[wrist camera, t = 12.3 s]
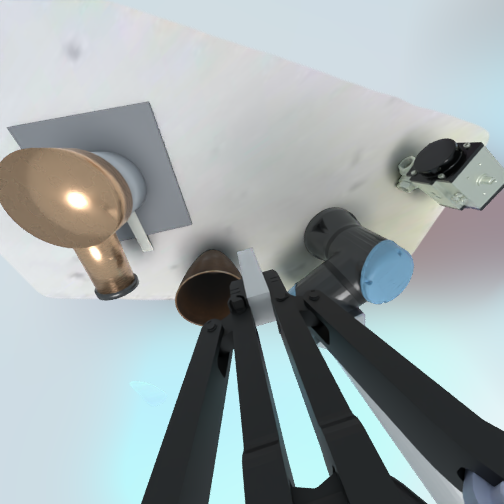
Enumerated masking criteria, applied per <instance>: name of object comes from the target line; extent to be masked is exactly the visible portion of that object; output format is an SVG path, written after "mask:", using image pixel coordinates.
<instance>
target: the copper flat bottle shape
mask: <svg viewBox="0 0 504 504" xmlns="http://www.w3.org/2000/svg"><path fill="white" fill-rule="evenodd" d="M0 203H1V205H2V206H3V208H4V210H5V211H6V212H7V214H8V215H9V216H10V217H11V218H12V219H13V220H14V221H15V222H16V223H17V224H18V225H19V226H20V227H21V228H23V229H24V230H25V231H27V232H28V233H30V234H31V235H33V236H35V237H37V238H39V239H41V240H43V241H45V242H48V243H50V244H53V245H57V246H61V247H66V248H73V249H74V251H75V253H76V254H77V256H78V258H79V260H80V261H81V263H82V265H83V267H84V268H85V270H86V272H87V274H88V275H89V277H90V279H91V281H92V283H93V284H94V286H95V294H96V295H97V297H98V298H99V299H100V300H113V299H117V298H120V297H122V296H125V295H127V294H128V293H130V292H132V291H133V290H134V289H135V288H136V287H137V286H138V284H139V280H138V277H137V275H136V274H134V273H133V272H132V269H131V267H130V265H129V262H128V260H127V258H126V255H125V253H124V251H123V248H122V246H121V244H120V241H119V239H118V237H117V234H116V231H117V230H118V229H119V228H120V227H122V226H123V225H124V224H125V223H126V222H127V220H128V219H129V217H130V215H131V212H132V208H133V199H132V194H131V191H130V188H129V186H128V184H127V182H126V180H125V179H124V177H123V176H122V175H121V174H120V172H119V171H118V170H117V169H116V168H115V167H114V166H113V165H111V164H110V163H109V162H108V161H106V160H105V159H103V158H101V157H100V156H98V155H96V154H94V153H91V152H88V151H85V150H81V149H76V148H26V149H21V150H17V151H15V152H13V153H11V154H9V155H8V156H6V157H5V158H4V159H3V160H2V161H1V162H0Z"/></svg>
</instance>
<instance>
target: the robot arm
mask: <svg viewBox="0 0 504 504" xmlns="http://www.w3.org/2000/svg"><path fill="white" fill-rule="evenodd" d="M304 241H305V246H306V248H307V249H308V251H309V252H310V253H311V254H312V255H313V256H315V257H316V258H318V259H321V260H324V261H325V262H324V263H322V264H321V265H320V266H318V267H317V268H316V269H315V270H313V271H312V272H311V273H310V274H308V275H307V276H306V277H305V278H303V279H302V280H301V281H299V282H297V283H296V284H295V285H294V286H293V287H292V288H291V289H290V290H289V291H288V292H287V291H286V289H285V287H284V285H283V283H282V281H281V279H280V277H279V275H278V273H277V272H276V271H274V270H273V269H272V270H269V271H265V272H262V271H261V269H260V266H259V263H258V261H257V258H256V256H255V253H254V250H253V248H249V249H246V250H242V251H238V252H237V254H238V259H239V263H240V268H241V273H242V277H243V279H239V280H236V281H232V282H231V284H230V294H231V297H230V298H229V300H228V302H227V304H228V307H229V310H230V314H229V315H228V316H227V317H226V318H224V319H222V320H221V321H220V320H219V319H211V320H209V321H207V322H206V323H205V324H204V325H203V327H202V329H201V332H200V335H199V337H198V340H197V343H196V346H195V349H194V352H193V355H192V358H191V361H190V364H189V366H188V369H187V372H186V375H185V378H184V381H183V384H182V387H181V390H180V393H179V396H178V399H177V401H176V404H175V407H174V410H173V413H172V416H171V419H170V422H169V424H168V427H167V430H166V433H165V436H164V439H163V442H162V445H161V448H160V451H159V454H158V456H157V459H156V462H155V465H154V468H153V471H152V474H151V477H150V480H149V482H148V485H147V488H146V491H145V494H144V497H143V500H142V503H141V504H208V502H209V495H210V489H211V483H212V477H213V471H214V465H215V459H216V452H217V446H218V440H219V434H220V427H221V421H222V415H223V409H224V403H225V396H226V390H227V384H228V377H229V371H230V365H231V359H232V352H233V349H234V351H235V361H236V372H237V381H238V392H239V402H240V412H241V422H242V433H243V443H244V451H243V455H242V466H243V467H242V468H243V480H244V492H245V504H427V503H426V502H425V501H423V500H422V499H421V498H420V497H418V496H417V495H416V494H415V493H414V492H412V491H411V490H410V489H409V488H408V487H406V486H405V485H404V484H403V483H401V482H400V481H398V480H397V479H395V478H394V477H392V476H390V475H389V473H388V471H387V469H386V467H385V466H384V464H383V462H382V460H381V458H380V456H379V454H378V453H377V451H376V449H375V447H374V445H373V443H372V441H371V439H370V438H369V436H368V434H367V432H366V430H365V429H364V427H363V425H362V423H361V422H360V421H359V419H358V418H357V417H356V416H355V415H354V414H353V413H352V412H351V410H350V408H349V406H348V404H347V402H346V400H345V398H344V397H343V395H342V393H341V391H340V389H339V387H338V385H337V383H336V381H335V379H334V377H333V375H332V374H331V372H330V370H329V368H328V366H327V364H326V362H325V360H324V358H323V356H322V355H321V352H320V351H319V349H318V347H321V348H324V349H327V350H328V351H329V352H330V353H331V354H332V355H333V356H334V357H335V359H336V360H337V361H338V363H339V364H340V366H341V367H342V369H343V370H344V372H345V373H346V374H347V376H348V377H349V379H350V380H351V382H352V383H353V384H354V386H355V387H356V389H357V390H358V392H359V393H360V394H361V396H362V397H363V398H364V400H365V402H366V403H367V404H368V406H369V407H370V408H371V410H372V411H373V413H374V414H375V416H376V417H377V418H378V420H379V421H380V423H381V424H382V426H383V427H384V429H385V430H386V431H387V433H388V434H389V436H390V437H391V438H392V440H393V441H394V443H395V444H396V446H397V447H398V449H399V450H400V451H401V453H402V454H403V455H404V457H405V458H406V460H407V461H408V463H409V464H410V466H411V467H412V469H413V470H414V471H415V473H416V474H417V476H418V477H419V479H420V480H421V481H422V483H423V484H424V486H425V487H426V489H427V490H428V491H429V493H430V494H431V496H432V497H433V498H434V500H435V501H436V503H437V504H504V431H502V430H501V429H499V428H497V427H495V426H493V425H491V424H490V423H488V422H486V421H484V420H483V419H481V418H480V417H479V416H478V415H476V414H475V413H474V412H472V411H471V410H470V409H469V408H467V407H466V406H465V405H464V404H463V403H461V402H460V401H458V400H457V399H456V398H455V397H454V396H452V395H451V394H450V393H449V392H447V391H446V390H445V389H443V388H442V387H441V386H440V385H439V384H437V383H436V382H435V381H434V380H432V379H431V378H430V377H428V376H427V375H426V374H425V373H423V372H422V371H421V370H420V369H418V368H417V367H416V366H415V365H413V364H412V363H411V362H410V361H408V360H407V359H406V358H404V357H403V356H402V355H401V354H400V353H398V352H397V351H396V350H394V349H393V348H392V347H391V346H389V345H388V344H387V343H385V342H384V341H383V340H382V339H381V338H379V337H378V336H377V335H376V334H374V333H373V332H372V331H371V330H369V329H368V328H367V327H366V326H365V314H364V313H363V312H362V311H361V310H360V309H359V306H360V305H362V304H363V303H365V302H366V301H368V302H371V303H374V304H382V303H383V302H384V303H387V302H389V301H391V300H393V299H394V298H396V297H397V296H398V295H399V294H400V293H401V292H402V291H403V290H404V289H405V287H406V286H407V285H408V283H409V281H410V279H411V276H412V274H413V268H414V264H413V259H412V257H411V255H410V254H409V252H407V251H406V250H405V249H403V248H402V247H400V246H398V245H397V244H396V243H395V242H393V241H391V240H388V239H386V238H384V237H382V236H380V235H378V234H376V233H374V232H372V231H370V230H368V229H366V228H364V227H362V226H361V225H360V223H359V222H358V221H357V219H356V218H355V216H354V215H353V214H352V213H350V212H349V211H346V210H344V209H342V208H329V209H326V210H324V211H322V212H320V213H319V214H317V215H316V216H315V217H314V218H313V219H312V220H311V221H310V223H309V225H308V226H307V228H306V231H305V236H304ZM273 321H277V325H278V329H279V333H280V334H281V337H282V340H283V342H284V345H285V348H286V351H287V354H288V356H289V359H290V362H291V365H292V368H293V371H294V374H295V376H296V379H297V382H298V385H299V388H300V390H301V393H302V396H303V399H304V402H305V405H306V407H307V410H308V413H309V416H310V418H311V422H312V424H313V427H314V430H315V433H316V436H317V439H318V441H319V444H320V447H321V450H322V453H323V457H324V460H325V463H326V466H327V470H328V472H329V475H330V477H329V478H328V479H327V480H325V481H324V482H323V483H322V484H321V485H320V486H319V487H317V488H315V489H314V488H313V489H312V488H300V487H295V484H294V480H293V476H292V473H291V469H290V465H289V461H288V457H287V453H286V449H285V445H284V440H283V436H282V432H281V428H280V424H279V420H278V415H277V411H276V407H275V403H274V398H273V394H272V390H271V386H270V382H269V377H268V373H267V369H266V365H265V361H264V356H263V352H262V348H261V344H260V339H259V335H258V331H257V329H256V326H259V325H263V324H266V323H269V322H273ZM316 344H317V345H316ZM317 346H318V347H317Z"/></svg>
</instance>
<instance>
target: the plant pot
mask: <svg viewBox="0 0 504 504" xmlns="http://www.w3.org/2000/svg"><path fill="white" fill-rule="evenodd" d="M239 279H243V278H242V276H241V274H240V272H239V271H238V269H237V268H236V267H235V265H234V264H233V263H232V261H231V260H230V259H229V258H228V257H227V256H226V255H225V254H223V253H222V252H220V251H218V250H208V251H206V252H204V253H203V254H202V255H200V256H199V257H198V258H197V259H196V260H195V262H194V263H193V264H192V265H191V267H190V268H189V270H188V271H187V273H186V275H185V276H184V278H183V280H182V282H181V284H180V286H179V288H178V291H177V293H176V297H175V304H176V308H177V310H178V312H179V313H180V314H181V316H183V318H184V319H186V320H187V321H189V322H191V323H193V324H196V325H199V326H203V325H204V324H205V323H206V322H207V321H209V320H211V319H219V320H220V321H221V320H222V319H224V318H226V317H227V316H228V315H229V314H230V310H229V307H228V304H227V302H228V300H229V298H230V297H231V294H230V284H231V282H232V281H236V280H239Z"/></svg>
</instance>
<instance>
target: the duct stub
mask: <svg viewBox="0 0 504 504" xmlns="http://www.w3.org/2000/svg"><path fill="white" fill-rule="evenodd" d="M7 129H8V130H9V132H10V133H11V135H12V136H13V138H14V139H15V141H16V142H17V143H18V145H19V146H20V148H21V149H26V148H76V149H81V150H85V151H88V152H91V153H94V154H96V155H98V156H100V157H101V158H103V159H105V160H106V161H108V162H109V163H110V164H111V165H113V166H114V167H115V168H116V169H117V170H118V171H119V172H120V174H121V175H122V176H123V177H124V179H125V180H126V182H127V184H128V186H129V188H130V191H131V194H132V199H133V208H132V212H131V215H130V217H129V219H128V220H127V222H126V223H125V224H124V225H123V226H122V227H120V228H119V229H118V230H117V231H116V234H117V237H118V239H119V241H123V240H128V239H132V238H136V239H137V241H138V243H139V245H140V247H141V249H142V250H143V252H147V251H152V250H153V248H152V246H151V243H150V241H149V239H148V237H147V235H149V234H154V233H158V232H162V231H167V230H171V229H175V228H180V227H184V226H188V225H192V222H191V219H190V216H189V214H188V211H187V208H186V205H185V202H184V199H183V197H182V194H181V191H180V188H179V185H178V182H177V180H176V177H175V174H174V171H173V168H172V165H171V163H170V160H169V157H168V154H167V151H166V148H165V146H164V143H163V140H162V137H161V134H160V131H159V129H158V126H157V123H156V120H155V117H154V114H153V112H152V109H151V106H150V103H149V102H144V103H138V104H133V105H127V106H122V107H116V108H111V109H105V110H100V111H94V112H89V113H83V114H78V115H72V116H67V117H61V118H56V119H50V120H45V121H39V122H34V123H28V124H23V125H17V126H12V127H7Z"/></svg>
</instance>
